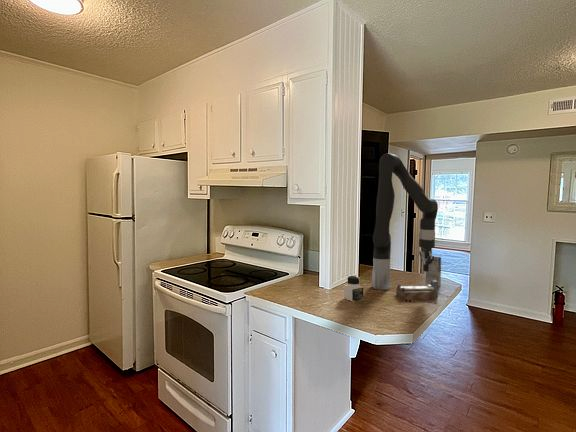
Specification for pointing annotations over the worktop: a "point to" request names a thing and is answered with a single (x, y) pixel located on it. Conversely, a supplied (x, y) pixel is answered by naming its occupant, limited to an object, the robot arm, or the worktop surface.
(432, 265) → the coffee box
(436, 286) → the dark grey block
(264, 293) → the worktop surface
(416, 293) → the walnut block
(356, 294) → the medicine bottle
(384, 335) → the worktop surface
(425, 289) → the clamp strap
